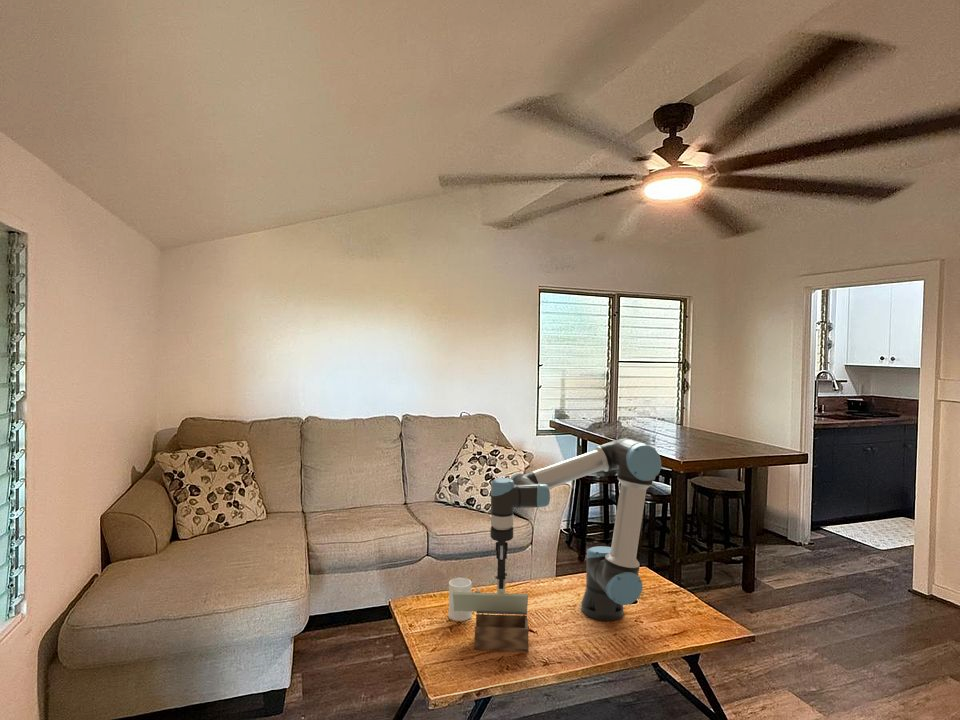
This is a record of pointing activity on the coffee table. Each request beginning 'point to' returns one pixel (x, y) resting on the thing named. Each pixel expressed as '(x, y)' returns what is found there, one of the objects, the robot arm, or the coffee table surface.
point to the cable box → (501, 632)
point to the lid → (491, 602)
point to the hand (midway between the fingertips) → (501, 596)
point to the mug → (454, 586)
